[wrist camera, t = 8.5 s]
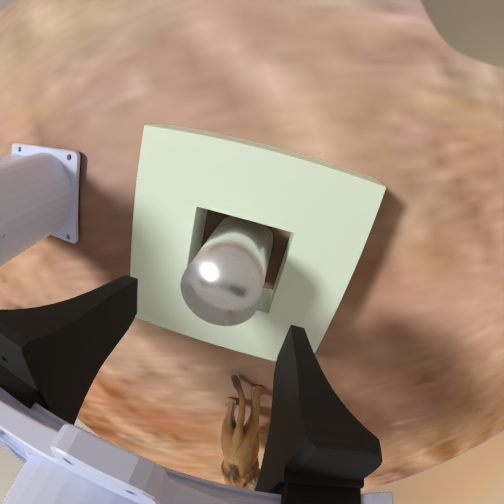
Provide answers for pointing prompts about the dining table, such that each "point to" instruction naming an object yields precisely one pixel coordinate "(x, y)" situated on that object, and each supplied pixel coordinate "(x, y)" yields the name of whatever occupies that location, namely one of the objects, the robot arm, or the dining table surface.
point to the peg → (228, 272)
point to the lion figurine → (241, 440)
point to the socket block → (253, 209)
